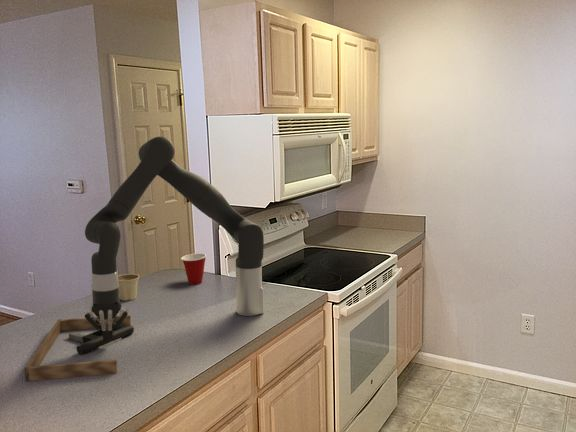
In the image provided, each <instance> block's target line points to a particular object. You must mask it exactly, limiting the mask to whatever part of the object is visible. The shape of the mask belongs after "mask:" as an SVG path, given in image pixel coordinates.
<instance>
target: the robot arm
mask: <svg viewBox="0 0 576 432" xmlns="http://www.w3.org/2000/svg"><path fill="white" fill-rule="evenodd" d="M175 152H176V151H175V146H174V144H173V142H172V141H171V140H170V139H169V138H168V137H165V136H156V137H153V138H151V139H149V140H148V141H146V142H145V143H143V144H142V145H141V146H140V148H139V150H138V158H139V160H140V162H139V164H138V165H137V166H136V167H135V169H134V170H133V172H132V173H131V174H130V175H129V176H128V177H127V178H126V179H125V180H124V182H123V183H121V185H120V186H119V187H118V189H117V190H116V191H115V192H114V194H113V195H112V197H111V198H110V199H109V201H108V202H107V204H106V205H105V206H104V207H102V208H101V209H100V210H99V211H98V212H97V213H95V215H94V216H92V218H90V220H89V221H88V222H87V224H86V226H85V228H84V236H85V238H86V240H88V241H89V242H91V243H93V244H98V245H99V246H98V251H97V252H94V253H92V255H91V260H90V261H91V293H92V294H91V295H92V306H91V309H90V310H89V311H87V312H86V311H85V313H84V318H86V319H87V320H88V321H89V322H90V323H91V324H92V325H93V326H94V327H95V328H94V329H96V330H97V331H98V330H102V332H103V340H104V341H105V342H111V340H112V339H113V329H115V328H118V327H119V325H120V324H121V323H122V321H123V320H124V319H125V317H126V316H127V315H129V309H125V308H124V307H122V304H121V303H120V296H119V283H118V276H119V275H118V265H117V263H118V261H117V257H118V252H119V247H120V243H121V236H122V235H121V231H120V227H119V226H118V224H117V223H118V222H122V221H124V220H127V219H128V218H129V216H130V215H131V213H132V211H133V210H134V208H135V207H136V206H137V205H138V202H139V201H140V199H141V198H142V197H143V195H144V193H145V192H146V191H147V189H148V187H149V186H150V184H152V182H153V181H154V180H155V178H156V177H157V176H159V177H160V178H161V179H162V180H164V181H165V182H166V183H168V184H169V185H170V186H171V187H173V189H174V190H176V191H177V192H178V193H179V194H180V195H182V196H183V197H184V198H185V199H186V200H187V201H188V202H189V203H191V205H193V206H194V207H195V208H196V209H197V210H199V211H200V212H201V213H203V214H204V215H206V217H208V218H210V219H211V220H213V221H214V222H216V223H217V224H219V225H220V226H221V227H222V228H223V229H224V230H225V231H226V233H228V234H229V235H230V237H231V238H232V239H233V240H234V241H235V242H236V243H237V245H238V248H237V249H238V251H237V257H236V259H235V289H236V290H235V294H236V297H235V298H236V313H237V314H238V315H239V316H244V317H246V316H247V317H252V316H253V317H254V316H257V315H260V314H261V315H262V314H264V288H263V284H262V283H263V282H262V281H263V279H262V278H263V277H262V275H263V273H262V270H263V268H262V267H263V266H262V263H263V259H264V250H265V249H264V248H265V247H264V246H265V245H264V242H265V237H264V231H263V229H262V228H261V225H259V224H257V223H255V222H253V221H251V220H249V219H248V218H246V217H244V216H243V215H242V214H240V213H239V212H238V211H236V210H235V209H234V208H233V207H232V206H231V204H230V203H229V202H228V200H227V199H226V198H225V197H224V195H223V194H222V193H221V192H220V191H219V190H218V189H217V188H216V187H215V186H214V185H212V183H210V182H209V181H208V180H207V179H205V178H204V177H202V176H200V175H198V174H196V173H194V172H191V171H189V170H187V169H185V168H183V167H181V166H180V165H179V164H178V163H177V162H176V161H174V160H173V159H174V157H175ZM118 314H119V315H120V317H119V319H118V320H117V321H116V322H115V323H114V324H113V319H114V318H115V316H118ZM95 317H98V318H99V319H100V322H101V323H100V322H99V321H98V320H97V319H96V318H95ZM107 319H108V329H107Z"/></svg>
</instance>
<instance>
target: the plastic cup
mask: <svg viewBox="0 0 576 432" xmlns="http://www.w3.org/2000/svg"><path fill="white" fill-rule="evenodd" d="M206 257H207V254H206V253H200V252H199V253H198V252H197V253H190V254H186V255H183V256H182V257H181V261H182V263H183V265H184V268H185V273H186V276H187V277H186V278H187V281H188V284H190V285H200V284H202V283H203V278H204V273H205V271H204V270H205V263H206Z"/></svg>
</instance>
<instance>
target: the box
mask: <svg viewBox="0 0 576 432" xmlns="http://www.w3.org/2000/svg"><path fill="white" fill-rule="evenodd" d="M94 317H95V318H96V319H97V320H98V321H99V322H100V319H99V318H98V317H97V316H94ZM119 317H120V314H119V315H118V314H117V315H116V316H115V318H114V319H113V323H115V322H116V321H117V320H118V319H119ZM100 323H101V322H100ZM107 324H108V319H107ZM121 324H122V325H126V326H128V325H131V326H132V320H131V314H128V315H127V316H126V317H125V319H124V320H123V321H122V323H121ZM88 329H96V328H95V327H94V326H93V325H92V324H91V323H90V322H89V321H88V320H87V319H86V318H85V317H77V318H65V319H64V318H63V319H57V320H56V322H55V323H54V325H53V326H52V328H51V329H50V331H49V332H48V334H47V335H46V337H45V338H44V340H42V343H41V344H40V346H39V347H38V348H37V350H36V351H35V353H34V354H33V356H32V357H31V358H30V359H29V361H28V363H27V364H26V366H25V367H24V378H25V382H31V381H41V380H43V381H44V380H52V379H53V380H55V379H65V378H77V377H78V378H79V377H85V376H86V377H87V376H98V375H109V374H111V375H112V374H118V365H117V363H118V362H117V359H116V358H115V359H106V360H104V359H103V360H93V361H92V360H91V361H84V362H83V361H82V362H81V361H79V362H70V363H58V364H57V363H55V364H48V365H47V364H46V365H41V363H43V362H42V361H44V359H45V358H46V356H47V355H48V353H49V352H50V350H51V348H52V346H53V345H54V343H55V341H56V340H57V338H58V337H59V335H60V333H61V332H62V331H73V330H88Z"/></svg>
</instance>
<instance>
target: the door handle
mask: <svg viewBox="0 0 576 432" xmlns="http://www.w3.org/2000/svg"><path fill="white" fill-rule="evenodd" d="M113 324H114V323H113ZM107 329H108V324H107ZM134 331H135V328H134V326H133V325H132V324H131V325H128V326H126V325H122V324H120V325H119V327H118V328H115V329H113V339H112V340H111V342H105V341H104V340H103V332H102V330H100V329H98V330H97V331H93V332H91V333H88V334H86V335H85V334H83V333H82V334H81V333H78V332H75V331H72V332H70V333H68V339H69V340H72V341H76V342H80V344H79V345H77V346H76V352H77V354H79V355H82V354H83V355H85V354H86V353H87V354H88V353H89V352H92V351H94V350H96V349H99V350H101V349H102V348H104V347H107V346H109V345H111V344H114V343H116V342H118V341H121V340H122V339H123V338H126V337H127V336H130V335H131V334H133V333H134Z"/></svg>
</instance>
